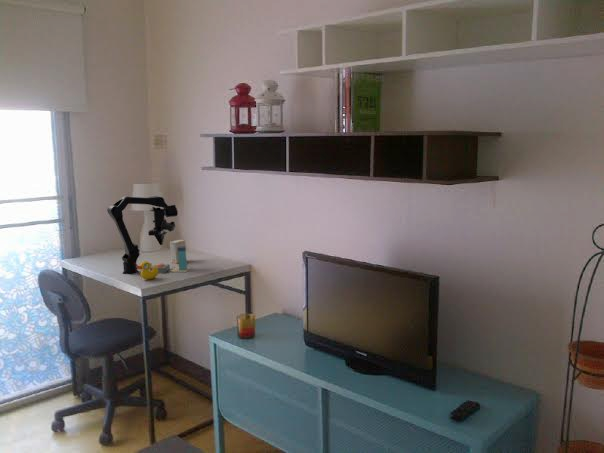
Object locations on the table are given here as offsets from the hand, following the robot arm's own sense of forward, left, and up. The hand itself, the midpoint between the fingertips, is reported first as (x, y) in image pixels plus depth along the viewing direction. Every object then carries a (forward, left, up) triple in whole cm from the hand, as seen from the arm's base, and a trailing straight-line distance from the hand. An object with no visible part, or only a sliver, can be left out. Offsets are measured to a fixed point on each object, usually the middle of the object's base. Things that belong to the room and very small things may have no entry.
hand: (161, 244), depth 319 cm
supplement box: (+5, +12, -13) cm, 19 cm away
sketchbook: (+13, -6, -13) cm, 19 cm away
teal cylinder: (+15, -6, -13) cm, 21 cm away
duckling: (+4, -27, -13) cm, 30 cm away
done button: (+3, -10, -12) cm, 16 cm away
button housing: (+3, -10, -13) cm, 17 cm away
